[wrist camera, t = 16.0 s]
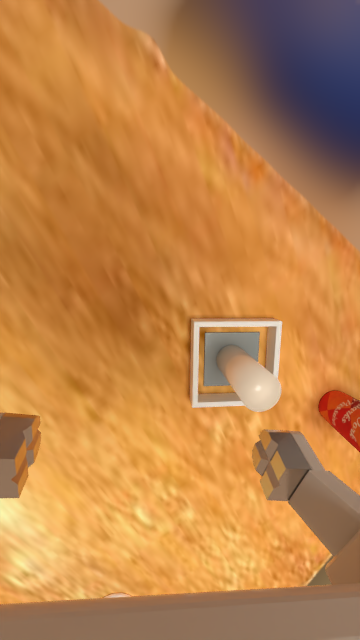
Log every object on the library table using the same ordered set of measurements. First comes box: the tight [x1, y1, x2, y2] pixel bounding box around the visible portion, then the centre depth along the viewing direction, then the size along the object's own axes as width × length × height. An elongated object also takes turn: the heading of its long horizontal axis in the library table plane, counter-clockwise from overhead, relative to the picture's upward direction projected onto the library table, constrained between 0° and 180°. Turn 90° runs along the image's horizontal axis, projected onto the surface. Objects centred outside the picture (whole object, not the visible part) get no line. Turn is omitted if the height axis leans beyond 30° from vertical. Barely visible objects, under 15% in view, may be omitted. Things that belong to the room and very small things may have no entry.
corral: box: [190, 318, 282, 408], centre depth 41 cm, size 14×14×3 cm
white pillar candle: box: [216, 345, 281, 412], centre depth 37 cm, size 5×5×12 cm
